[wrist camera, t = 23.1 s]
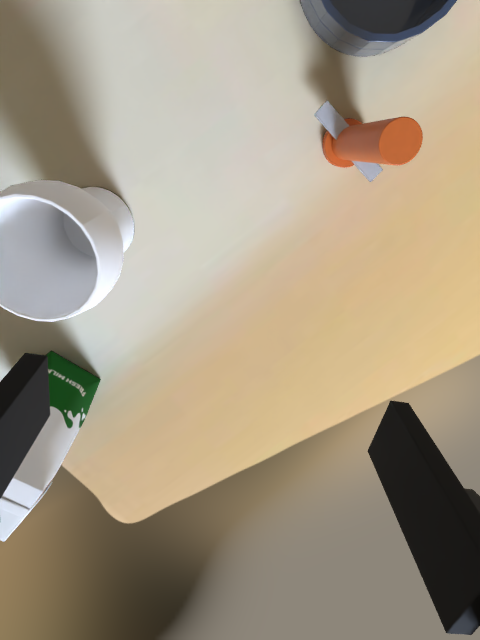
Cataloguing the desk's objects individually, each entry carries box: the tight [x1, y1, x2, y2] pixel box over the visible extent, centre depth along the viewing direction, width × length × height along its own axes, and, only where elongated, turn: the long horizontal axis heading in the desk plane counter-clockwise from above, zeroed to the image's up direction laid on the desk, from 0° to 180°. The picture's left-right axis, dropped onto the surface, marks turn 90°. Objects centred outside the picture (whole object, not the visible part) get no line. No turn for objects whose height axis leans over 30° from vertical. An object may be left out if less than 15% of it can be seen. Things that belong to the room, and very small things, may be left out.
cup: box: [0, 180, 134, 322], centre depth 35 cm, size 11×11×15 cm
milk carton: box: [0, 351, 101, 541], centre depth 40 cm, size 9×9×20 cm
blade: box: [314, 100, 423, 182], centre depth 33 cm, size 9×4×14 cm, turn 47°
